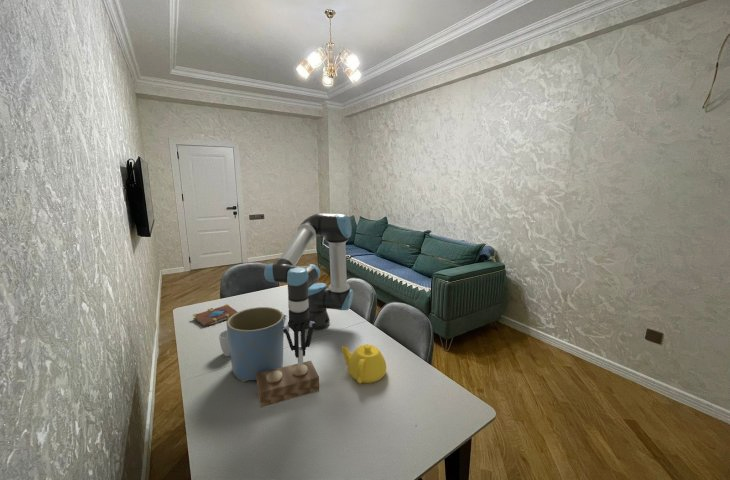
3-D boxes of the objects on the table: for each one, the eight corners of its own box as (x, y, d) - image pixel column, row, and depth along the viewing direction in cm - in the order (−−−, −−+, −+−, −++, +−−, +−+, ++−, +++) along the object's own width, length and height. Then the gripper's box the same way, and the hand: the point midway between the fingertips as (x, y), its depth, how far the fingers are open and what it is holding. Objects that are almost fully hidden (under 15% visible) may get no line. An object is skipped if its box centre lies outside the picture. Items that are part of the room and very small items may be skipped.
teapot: (390, 366, 136) (391, 340, 134) (378, 393, 119) (379, 364, 116) (348, 357, 143) (349, 332, 140) (331, 381, 125) (331, 353, 123)
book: (246, 315, 186) (246, 308, 185) (204, 330, 167) (203, 322, 166) (233, 306, 196) (232, 299, 195) (191, 319, 177) (191, 311, 176)
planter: (232, 391, 118) (228, 336, 114) (228, 360, 138) (224, 312, 133) (290, 375, 129) (289, 324, 124) (279, 348, 148) (277, 303, 144)
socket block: (311, 373, 130) (310, 360, 129) (319, 390, 120) (319, 377, 119) (257, 386, 121) (256, 373, 120) (260, 407, 110) (260, 392, 109)
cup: (232, 359, 139) (230, 339, 137) (216, 356, 141) (214, 337, 139) (242, 349, 147) (241, 330, 145) (227, 347, 148) (226, 328, 146)
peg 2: (305, 378, 126) (305, 363, 125) (309, 387, 121) (309, 371, 120) (291, 382, 124) (291, 366, 122) (294, 391, 119) (294, 374, 117)
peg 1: (281, 385, 122) (280, 369, 121) (284, 394, 117) (283, 377, 115) (266, 389, 120) (265, 372, 118) (268, 398, 114) (267, 381, 113)
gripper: (312, 302, 122) (313, 354, 127) (279, 307, 117) (282, 362, 122) (318, 309, 115) (319, 364, 120) (283, 315, 110) (285, 373, 115)
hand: (300, 363), depth 121 cm, fingers closed
